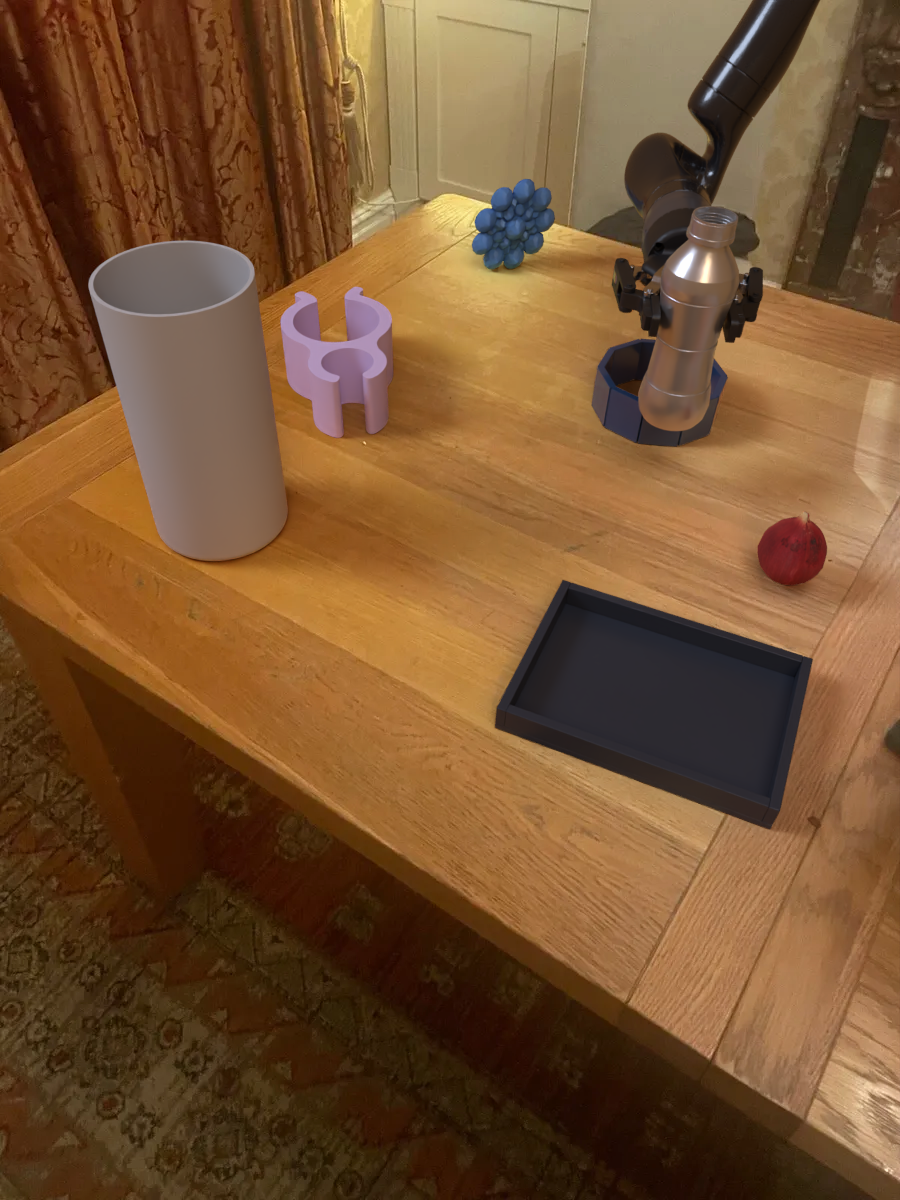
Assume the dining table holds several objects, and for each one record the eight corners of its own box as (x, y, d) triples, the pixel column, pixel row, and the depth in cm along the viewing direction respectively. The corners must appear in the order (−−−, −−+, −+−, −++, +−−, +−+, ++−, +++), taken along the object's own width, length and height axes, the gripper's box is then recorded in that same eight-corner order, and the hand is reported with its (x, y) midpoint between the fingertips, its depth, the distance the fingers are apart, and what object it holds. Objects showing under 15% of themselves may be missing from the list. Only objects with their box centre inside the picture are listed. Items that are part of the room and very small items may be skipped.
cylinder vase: (131, 544, 86) (53, 296, 68) (203, 469, 94) (151, 230, 76) (247, 580, 82) (197, 330, 65) (311, 499, 91) (283, 257, 73)
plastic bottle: (697, 446, 85) (752, 238, 71) (626, 430, 87) (666, 224, 72) (708, 409, 90) (762, 206, 75) (641, 395, 91) (681, 193, 77)
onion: (824, 596, 83) (854, 530, 77) (769, 609, 81) (795, 542, 76) (790, 554, 86) (816, 488, 81) (736, 565, 85) (759, 499, 79)
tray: (803, 678, 76) (813, 658, 74) (770, 830, 66) (780, 811, 64) (559, 599, 82) (562, 579, 80) (494, 728, 72) (496, 707, 70)
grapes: (539, 250, 131) (547, 163, 122) (555, 271, 126) (565, 183, 118) (461, 259, 128) (464, 171, 120) (476, 280, 124) (480, 191, 115)
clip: (412, 429, 99) (411, 374, 94) (298, 442, 97) (291, 386, 92) (382, 337, 113) (380, 284, 108) (281, 346, 111) (275, 293, 106)
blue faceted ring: (726, 393, 106) (737, 354, 102) (698, 459, 97) (709, 420, 93) (614, 365, 109) (621, 327, 106) (577, 427, 100) (583, 388, 97)
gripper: (614, 201, 88) (617, 284, 76) (764, 211, 87) (790, 296, 75) (603, 275, 93) (604, 362, 82) (745, 285, 92) (766, 374, 81)
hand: (693, 330), depth 79 cm, fingers closed on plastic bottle, 6 cm apart
